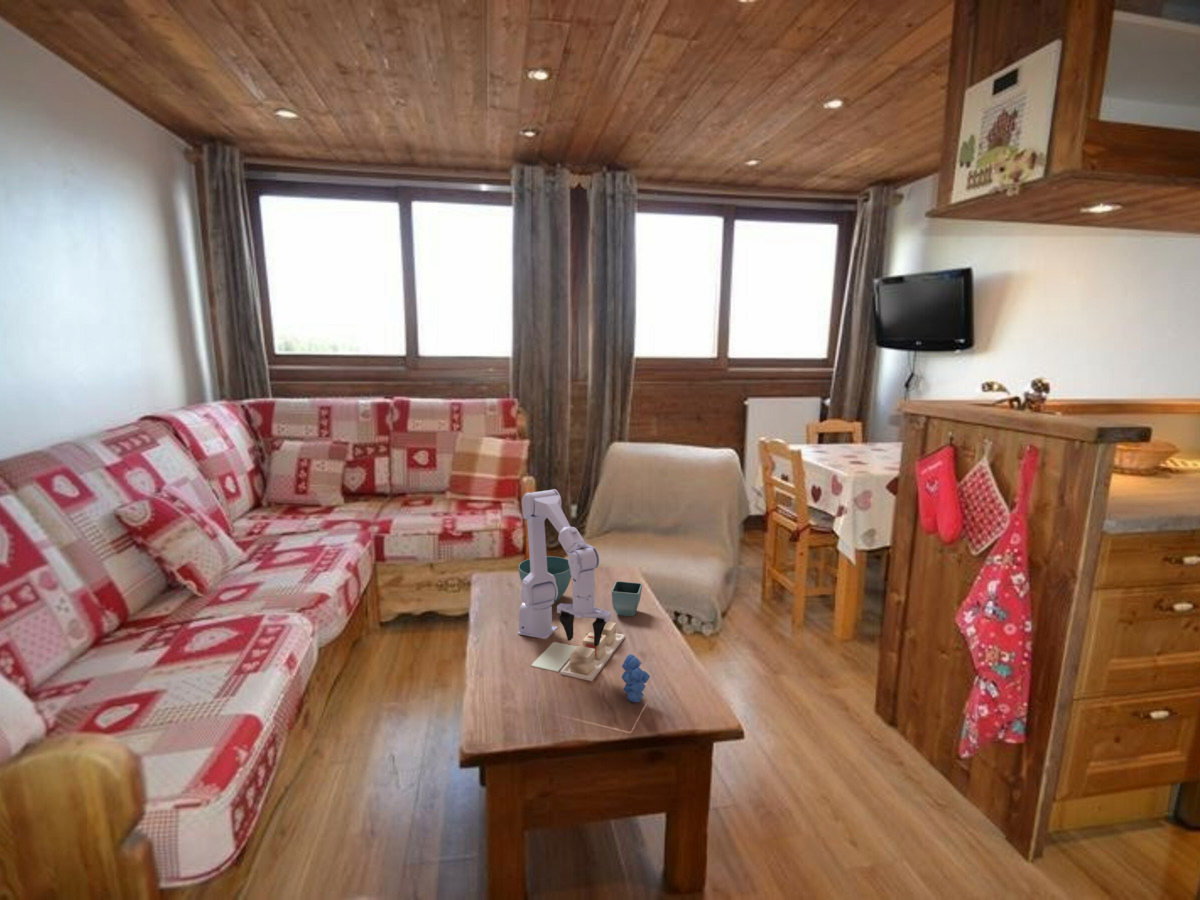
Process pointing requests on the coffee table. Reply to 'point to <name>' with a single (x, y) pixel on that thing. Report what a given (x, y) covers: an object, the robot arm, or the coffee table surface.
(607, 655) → the sorting tray
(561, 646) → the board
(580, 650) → the plain cube near
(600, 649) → the lettered cube
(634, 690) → the grapes
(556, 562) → the teal round bowl
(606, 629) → the plain cube far
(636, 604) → the flower pot
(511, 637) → the coffee table surface
